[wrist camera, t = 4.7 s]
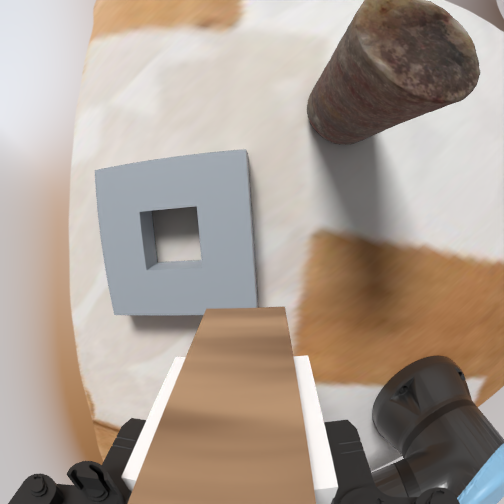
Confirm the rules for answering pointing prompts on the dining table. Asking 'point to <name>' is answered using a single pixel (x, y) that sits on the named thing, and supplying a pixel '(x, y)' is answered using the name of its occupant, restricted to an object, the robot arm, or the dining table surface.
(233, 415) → the peg
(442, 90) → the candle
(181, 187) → the socket
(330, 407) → the dining table surface
